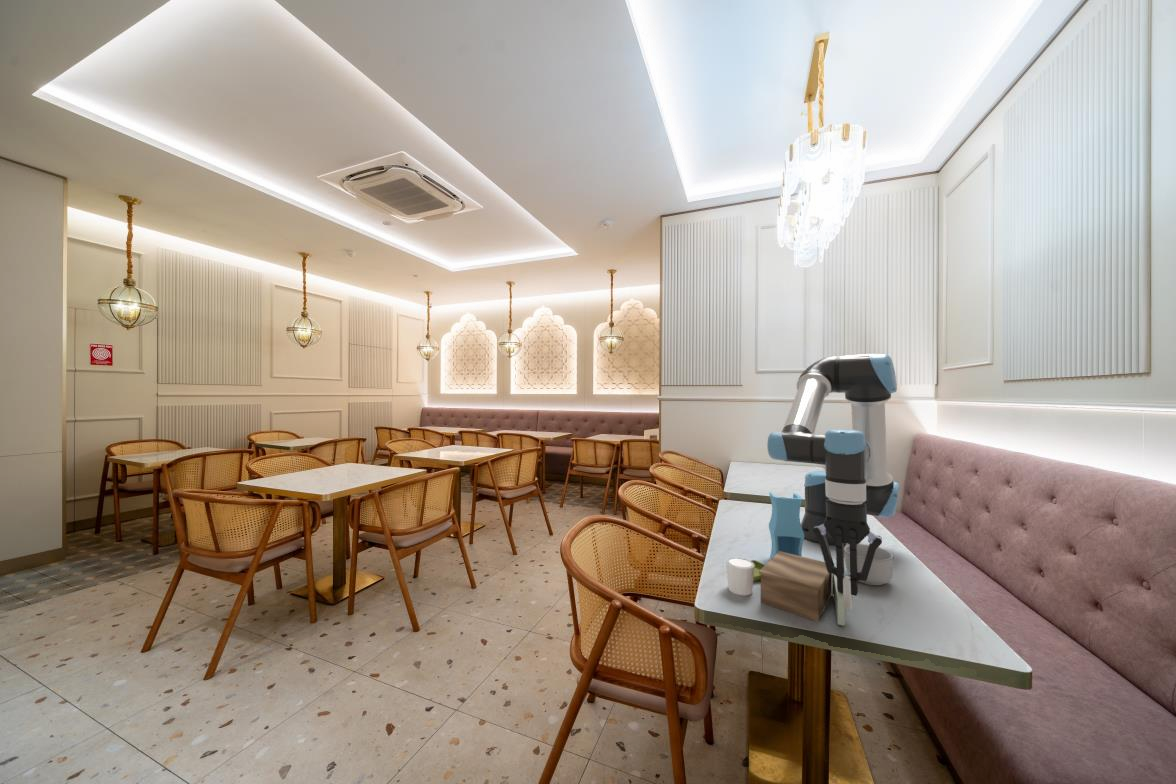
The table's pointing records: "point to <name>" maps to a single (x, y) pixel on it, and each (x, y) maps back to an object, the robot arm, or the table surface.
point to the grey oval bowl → (873, 564)
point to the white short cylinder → (740, 575)
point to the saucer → (757, 570)
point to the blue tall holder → (786, 525)
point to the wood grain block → (796, 585)
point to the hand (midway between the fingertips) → (847, 608)
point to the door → (838, 602)
